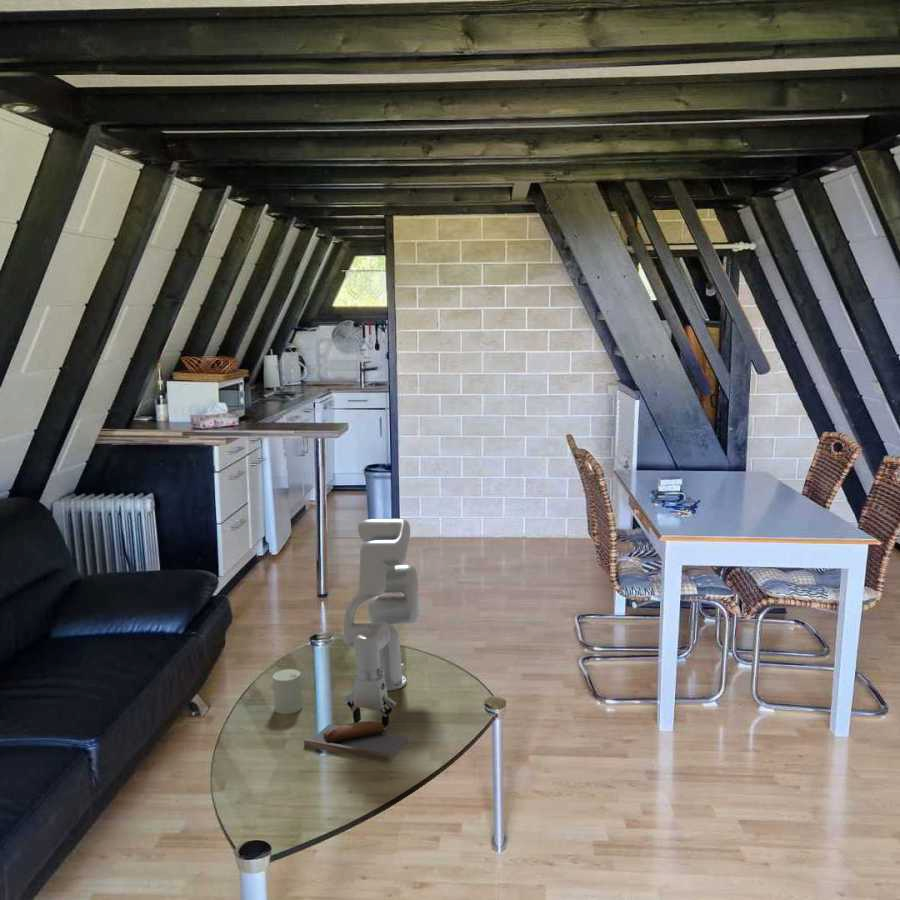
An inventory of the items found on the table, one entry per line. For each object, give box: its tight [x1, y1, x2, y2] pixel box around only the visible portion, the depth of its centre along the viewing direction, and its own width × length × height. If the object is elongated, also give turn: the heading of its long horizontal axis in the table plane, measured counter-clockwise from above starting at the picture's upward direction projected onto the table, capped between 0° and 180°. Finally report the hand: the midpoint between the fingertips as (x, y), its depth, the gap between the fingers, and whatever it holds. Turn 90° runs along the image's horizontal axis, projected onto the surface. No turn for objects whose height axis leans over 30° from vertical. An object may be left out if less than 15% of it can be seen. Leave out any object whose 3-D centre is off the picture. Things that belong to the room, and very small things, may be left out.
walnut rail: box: [303, 737, 391, 763], centre depth 242 cm, size 1×28×2 cm, turn 67°
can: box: [272, 668, 304, 715], centre depth 272 cm, size 9×9×12 cm
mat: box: [312, 723, 410, 760], centre depth 248 cm, size 13×28×1 cm, turn 67°
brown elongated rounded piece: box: [323, 720, 386, 744], centre depth 251 cm, size 18×7×7 cm, turn 110°
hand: (371, 724), depth 256 cm, fingers open, 9 cm apart
